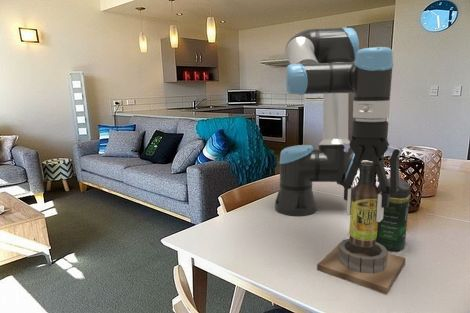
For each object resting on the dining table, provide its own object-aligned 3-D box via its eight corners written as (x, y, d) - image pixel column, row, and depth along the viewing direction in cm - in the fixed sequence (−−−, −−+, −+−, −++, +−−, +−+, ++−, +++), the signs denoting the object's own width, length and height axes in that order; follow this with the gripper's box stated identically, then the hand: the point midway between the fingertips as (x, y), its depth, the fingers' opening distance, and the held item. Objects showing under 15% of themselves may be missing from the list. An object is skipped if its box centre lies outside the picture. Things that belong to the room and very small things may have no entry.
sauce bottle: (354, 250, 76) (358, 166, 72) (345, 238, 82) (348, 161, 78) (381, 248, 76) (387, 165, 72) (370, 237, 82) (374, 160, 78)
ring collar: (317, 269, 79) (317, 250, 78) (342, 245, 91) (343, 228, 90) (386, 294, 69) (388, 273, 68) (405, 263, 81) (406, 244, 80)
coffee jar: (402, 254, 86) (407, 186, 82) (370, 246, 90) (374, 182, 86) (407, 240, 93) (413, 178, 90) (378, 234, 98) (382, 174, 94)
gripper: (323, 119, 76) (320, 212, 81) (414, 123, 64) (404, 232, 69) (335, 117, 82) (332, 204, 86) (421, 120, 70) (412, 221, 74)
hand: (364, 216), depth 77 cm, fingers closed on sauce bottle, 6 cm apart
